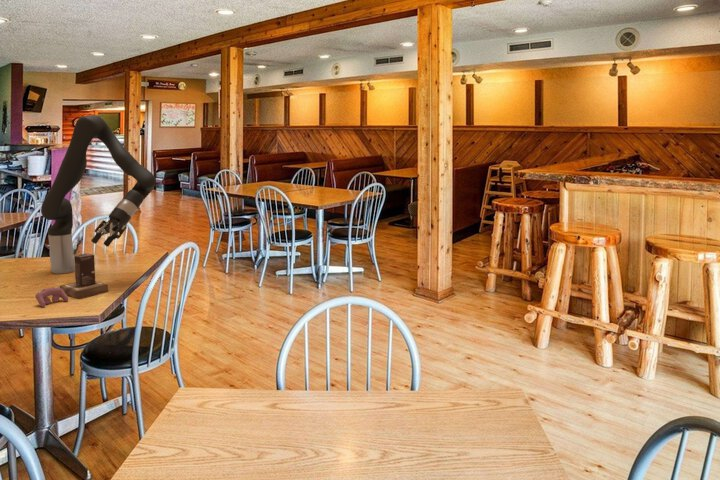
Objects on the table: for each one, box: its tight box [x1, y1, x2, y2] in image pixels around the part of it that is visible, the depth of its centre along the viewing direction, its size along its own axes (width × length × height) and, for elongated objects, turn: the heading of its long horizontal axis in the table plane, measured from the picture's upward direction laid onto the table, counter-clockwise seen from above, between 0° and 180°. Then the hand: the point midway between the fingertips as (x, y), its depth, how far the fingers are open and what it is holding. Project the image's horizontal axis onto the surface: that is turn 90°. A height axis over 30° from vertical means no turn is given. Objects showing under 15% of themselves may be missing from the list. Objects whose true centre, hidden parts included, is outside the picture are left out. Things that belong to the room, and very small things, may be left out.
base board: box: [59, 280, 109, 300], centre depth 211 cm, size 13×12×3 cm
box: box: [74, 253, 96, 287], centre depth 210 cm, size 6×4×12 cm
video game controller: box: [35, 286, 69, 308], centre depth 197 cm, size 10×5×7 cm, turn 147°
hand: (99, 243), depth 214 cm, fingers open, 8 cm apart
